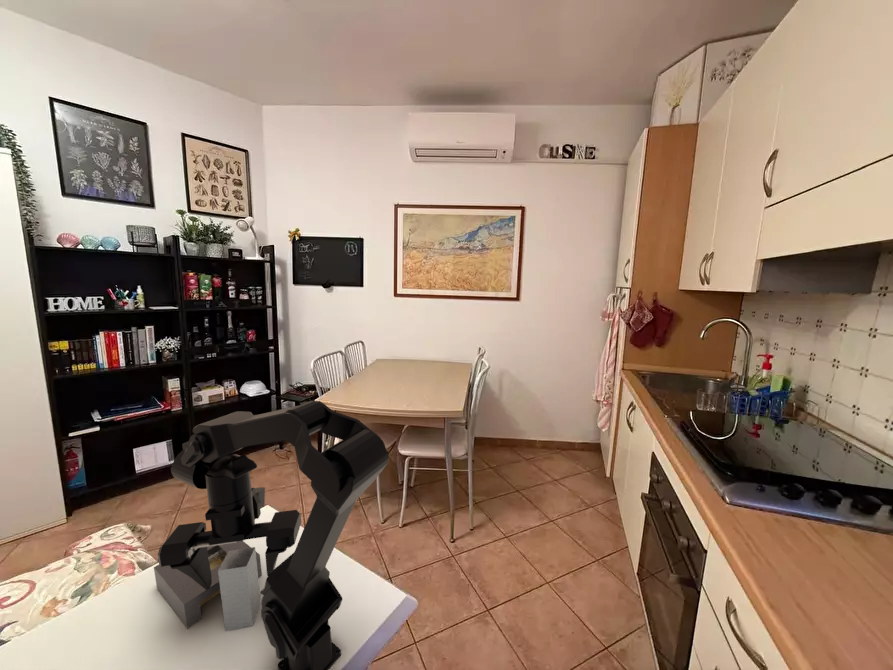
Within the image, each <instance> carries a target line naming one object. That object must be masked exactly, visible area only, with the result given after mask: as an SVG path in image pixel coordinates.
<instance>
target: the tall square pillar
mask: <svg viewBox="0 0 893 670" xmlns="http://www.w3.org/2000/svg"><path fill="white" fill-rule="evenodd" d="M256 552H257V551H256V547H255V546H254V547H251V548H245V549H238V550H231V551H228V553H227V555H226V557H225V559H224V561H223V562H222V564H221V566H220V568H219V570H218V575H219V583H220V591H221V592H220V597H221V607H222V614H223V622H224V631H225V632H229V631H235V630H240V629H246V628H251V627H254V624H255V621H256V618H257V616H258V612H259V610H260V606H262V605H261V603H262V600H261V593H260V592H261V591H260V583H259V582H260V581H259V578H258V571H257V561H256Z"/></svg>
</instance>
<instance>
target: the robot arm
mask: <svg viewBox="0 0 893 670" xmlns="http://www.w3.org/2000/svg"><path fill="white" fill-rule="evenodd" d="M319 431H320V433H322V434H324V435H327V436H329V437H333V438H336V439H339V440H340V441H338V442H337V443H335V444H334V445H332V446H330V447H329V448H327V449H325V450H323V451H322V452H320V451H319V450H318V449H317V448H316V447H315V446H314V445H313V443H312V440H311V435H313V434H316V433H317V432H319ZM192 433H193V434H192V435H191V436H190V437H189V440H188V441H186V442H184V443H182V450H181V451H180V452H179V453H178V454H177V456H176V457H175V458H174V460H173V462H172V465H171V467H170V472H171V475H172V476H173V478H174V479H176V480H177V481H181V482H183V483H185V484H187V485H189V486H192V487H194V488H196V489H198V490H206V493H207V501H208V510H207V511H206V513H205V515H204V516H205V521H210V526H211V530H207V524H206V522H203V521H198V522H190V523H183V524H178V525H177V526H176V528H174V530H173V531H172V532H171V533H170V535H169V536H168V537H166V538H167V539H165V541H164V542H163V543H162V544H161V546H160V547H159V549H158V553H157V557H158V558H157V559H158V565H160V566H161V567H162V566H169V565H170V568H171V569H178V570H179V571H181V572H182V573H184V574H186V575H187V576H189V577H190V578H192V579H193V580H194V581H196V582H197V583H198V584H199V585H201V586H202V587H203V588H204V589H206V590H208V589H209V588H210V586H211V584H212V578H211V570H210V564H209V560H210V559H209V557H208V553H207V548H208V547H209V546H216V545H223V544H230V543H236V542H238V541H246V540H252V539H260V538H265V545H266V550H265V552H264V553H265V554H264V556H265V565H266V575H267V576H266V578H265V579H266V580H265V585H264V588H262V589H261V591H260V595H262V599H261V605H260V606H261V612H260V617H261V619H262V623H263V626H264V628H265V629H264V630H265V632H266V635H267V639H268V641H269V644H270V645H271V646H272V647H274V648H275V655H276V658H277V659H279V660H280V661H278V663H277V669H278V670H330V669H331V667H332V666H333V664H335V663H336V662H337V661H338V659H339V658H340V657H341V656H342V650H341V649H340V647H338V646H337V645H336V644H335V643H334V642H333V641H332V634H331V633H332V632H331V626H330V625H329V624H330V623H329V619H330V618H331V617H332V616H333V615H334V613H335V612H336V611H337V610H339V609H340V608H341V605H342V602H343V597H342V595H341V593H340V592H339V590H338V589H337V587H336V586H335V584H334V582H333V581H332V579H331V578H330V575H331V574H330V571H329V570H328V569H327V567H326V566H327V564H328V561H329V560H330V557H331V555H332V553H333V551H334V549H335V546H336V544H337V543H338V540H339V538H340V537H341V535H342V532H343V529H344V528H345V526H346V523H347V521H348V519H349V517H350V515H351V513H352V510H353V508H354V506H355V504H356V502H357V500H358V499H359V498H360V497H361V496H362V494H363V493H364V492H365V491H366V490H367V489H368V488H369V487H370V486H371V485H372V484H373V483H374V482H375V481H376V479H377V478H378V476H379V475H380V474H381V473H382V471H383V470H384V469H385V468H386V466H387V464H388V462H389V458H390V455H389V453H390V452H389V451H388V450H387V447H386V444H385V442H384V440H383V439H382V438H381V437H380V436H379V435H378V434H377V433H376V432H374V431H373V430H371V429H370V428H369V427H368V426H366V424H365V423H363V422H362V421H360V420H359V419H358V418H354V417H352V416H349V415H346V414H343V413H340V412H338V411H334V410H332V409H331V408H330V407H329V406H327V405H326V404H325V403H324V402H322V401H320V400H309V401H308V402H305V403H302V404H300V405H296V406H291V407H286V408H282V409H277V410H273V411H269V412H264V413H260V414H253V413H252V412H251V411H241V410H239V411H233V412H231V413H229V414H226V415H222V416H219V417H217V418H214V419H211V420H208V421H206V422H205V421H204V422H202V423H200V424H197V425H196V426H194V427H193V429H192ZM281 442H289V444H290V445H292V446H293V447H294V451H295V456H296V461H297V465H298V468H299V471H300V472H301V473H302V474H303V475H304V476H305V477H307V478H308V479H309V481H310V487H311V488H312V491H314V493H315V496H316V498H315V500H314V503H313V505H312V507H311V511H310V513H309V516H308V518H307V520H306V523H305V525H304V528H303V529H302V532H301V536H300V537H299V540H298V543H297V545H296V546H295V547H296V548H295V550H294V552H293V553H292V554H290V555H289V556H288V557H287V558H286V559H284V560H283V561H282V562H280V564H279V565H277V566H276V564H277V561H278V557H279V555H280V554H282V553H285V552H286V551H287V549H289V548H291V547H293V546H294V545H295V543H296V541H297V538H298V534H299V531H300V528H301V525H302V515H301V512H299V511H298V510H297V509H291V510H283V511H278V512H277V511H276V512H274V514H273V517H272V518H271V521H266V522H259V523H258V522H257V523H256V522H255V521H256V520H257V519H259V518H260V517H261V513H262V512H261V509H262V508H264V507H265V505H266V504H265V502H266V495H265V494H266V488H265V487H264V486H263V487H252V483H251V473H250V472H252V471H254V470H255V469H257V468H258V464H257V462H255V461H254V460H253V459H251V458H249V457H248V456H247V455H246V454H242V455H239V454H236V453H234V452H237V451H240V450H241V449H244V448H250V447H256V446H262V445H267V444H268V445H270V444H275V443H281ZM233 453H234V454H233ZM206 530H207V531H206Z"/></svg>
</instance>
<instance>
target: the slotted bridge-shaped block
mask: <svg viewBox="0 0 893 670" xmlns="http://www.w3.org/2000/svg"><path fill="white" fill-rule="evenodd" d="M245 548H252V547H251V546H250V545H248V544H247V542H245V540H243V541H238V542H236V543H230V544H223V545H216V546H209V547H208V548H207V553H208V558H210V557H211V556H213V555H215V554H218V555H216V556H214V557H212V558H211V559H209V564H210V570H211V578H212V584H211V586H210V588H209V589H208V590H206V589H204V588H203V587H202V586H201V585H199V584H198V583H197V582H196V581H194V580H193V579H192V578H190V577H189V576H187V575H186V574H184V573H182V572H181V571H179V570H178V569H171V568H170V565H169V566H162V567H161V566H160V565H159V564H157V565H156V566H153V571H154V577H155V583H156V590H157V591H158V592H159V594H160V595H161V596H162V598H163V599H164V600H165V601H166V603H167V604H168V605H169V607H170V608H171V610H172V611H173V612H174V613H175V615H176V616H177V617H178V619H179V620H180V622H182V624H183V625H184V627H186V629H189V628H191V627H192V626H193V625H195V624H196V623H197V622H199V621H200V620H202V612H201V606H203V605H204V604H205V603H207V602H209V601H210V600H212V599H214V598H215V597H216V596H218V594H221V591H220V583H219V575H218V570H219V568H220V566H221V564H222V562H223V561H224V559H225V557H226V555H227V553H228V551H231V550H238V549H245ZM256 561H257V571H258V579H259V578H261V577H263V575H262V574H263V573H262V564H261V554H259V552H258V551H256Z"/></svg>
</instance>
